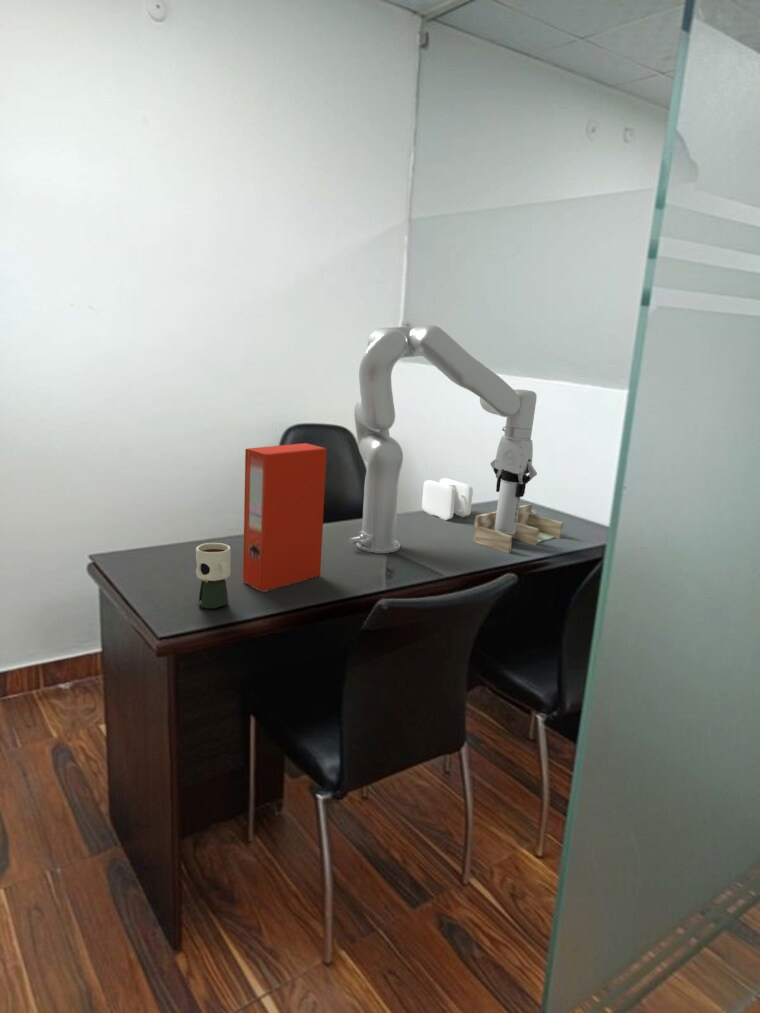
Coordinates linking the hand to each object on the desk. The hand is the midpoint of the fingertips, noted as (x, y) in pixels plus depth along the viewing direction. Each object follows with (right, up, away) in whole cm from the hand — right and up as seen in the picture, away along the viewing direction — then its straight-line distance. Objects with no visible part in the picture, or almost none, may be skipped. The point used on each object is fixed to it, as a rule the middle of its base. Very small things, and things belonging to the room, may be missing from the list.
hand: (509, 493), depth 196 cm
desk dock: (+5, -14, +9) cm, 17 cm away
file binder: (-61, -22, -36) cm, 74 cm away
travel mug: (-1, -12, +3) cm, 13 cm away
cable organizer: (-16, -7, +32) cm, 37 cm away
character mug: (-74, -25, -53) cm, 94 cm away
